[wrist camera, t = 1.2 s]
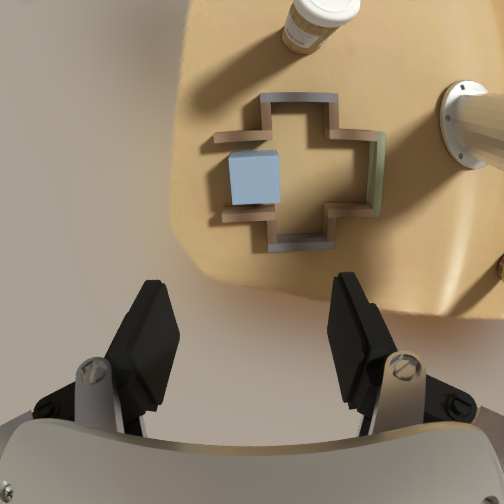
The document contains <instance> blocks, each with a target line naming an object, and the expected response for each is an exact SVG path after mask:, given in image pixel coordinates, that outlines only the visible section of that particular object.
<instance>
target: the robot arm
mask: <svg viewBox="0 0 504 504" xmlns="http://www.w3.org/2000/svg"><path fill="white" fill-rule="evenodd" d="M440 128H441V133H442V137H443V140H444V143H445V145H446V147H447V149H448V151H449V153H450V154H451V155H452V157H453V158H454V159H455V160H456V161H457V162H458V163H460V164H462V165H463V166H466V167H468V168H472V169H479V168H483V167H485V166H486V165H488V164H489V165H491V166H493V167H496V168H498V169H500V170H502V171H504V94H495V93H489V92H488V90H487V89H486V88H484V87H483V86H482V85H481V84H479V83H477V82H475V81H471V80H461V81H457V82H455V83H454V84H452V85H451V86H450V87H449V88H448V89H447V91H446V93H445V94H444V97H443V99H442V102H441V107H440ZM327 334H328V338H329V343H330V347H331V351H332V355H333V359H334V364H335V368H336V372H337V377H338V381H339V385H340V390H341V395H342V399H343V402H344V403H346V402H348V406H349V409H357V412H359V413H361V414H362V418H361V422H360V426H359V429H358V433H357V436H356V437H355V438H349V439H343V440H337V441H328V442H320V443H311V444H299V445H284V446H255V447H254V446H248V447H247V446H245V447H244V446H215V445H201V444H189V443H181V442H172V441H164V440H158V439H151V438H147V433H146V429H145V424H144V419H143V415H144V414H145V412H146V411H154V412H156V411H157V407H158V405H161V404H162V402H163V398H164V395H165V391H166V387H167V383H168V379H169V376H170V372H171V368H172V365H173V361H174V357H175V354H176V350H177V347H178V343H179V340H180V333H179V329H178V326H177V323H176V319H175V316H174V312H173V309H172V306H171V302H170V299H169V295H168V291H167V288H166V285H165V284H164V283H162V282H161V281H160V280H146V281H145V282H144V284H143V286H142V288H141V290H140V291H139V293H138V295H137V297H136V299H135V301H134V303H133V304H132V306H131V308H130V310H129V312H128V313H127V314H126V316H125V317H124V319H123V321H122V323H121V325H120V327H119V329H118V331H117V333H116V335H115V337H114V339H113V341H112V343H111V345H110V347H109V349H108V351H107V353H106V355H105V357H104V358H102V357H92V358H90V359H87V360H86V361H84V362H83V363H82V364H81V365H80V366H79V368H78V369H77V372H76V380H75V382H73V383H71V384H69V385H67V386H65V387H63V388H61V389H59V390H58V391H55V392H54V393H52V394H50V395H48V396H46V397H44V398H42V399H41V400H39V402H38V403H37V404H36V406H35V408H34V412H32V411H31V410H30V411H28V412H26V413H24V414H23V415H20V416H18V417H17V418H14V419H12V420H10V421H9V422H7V423H5V424H3V425H1V426H0V504H504V416H503V415H500V414H498V413H496V412H494V411H492V410H490V409H488V408H485V407H483V406H481V407H480V408H478V407H477V406H476V403H475V401H474V399H473V398H472V397H471V396H470V395H469V394H467V393H466V392H463V391H461V390H459V389H457V388H454V387H453V386H450V385H448V384H446V383H444V382H442V381H439V380H437V379H435V378H433V377H431V376H429V375H427V374H426V367H425V364H424V362H423V360H422V359H421V358H420V357H419V356H418V355H416V354H414V353H412V352H409V351H398V350H397V348H396V346H395V344H394V342H393V339H392V337H391V335H390V333H389V331H388V328H387V326H386V324H385V322H384V320H383V318H382V316H381V314H380V311H379V309H378V307H377V306H376V304H374V303H369V302H368V300H367V298H366V296H365V294H364V291H363V289H362V287H361V285H360V283H359V281H358V279H357V277H356V275H355V273H354V272H342V273H339V275H338V277H334V280H333V288H332V297H331V304H330V312H329V320H328V326H327Z"/></svg>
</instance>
